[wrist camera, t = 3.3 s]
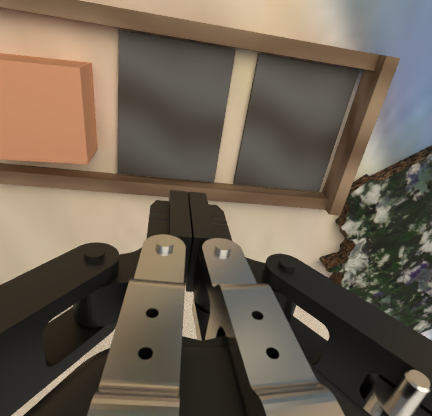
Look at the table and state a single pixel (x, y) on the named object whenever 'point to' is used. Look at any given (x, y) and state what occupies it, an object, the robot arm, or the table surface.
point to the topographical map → (389, 241)
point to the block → (46, 110)
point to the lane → (215, 112)
